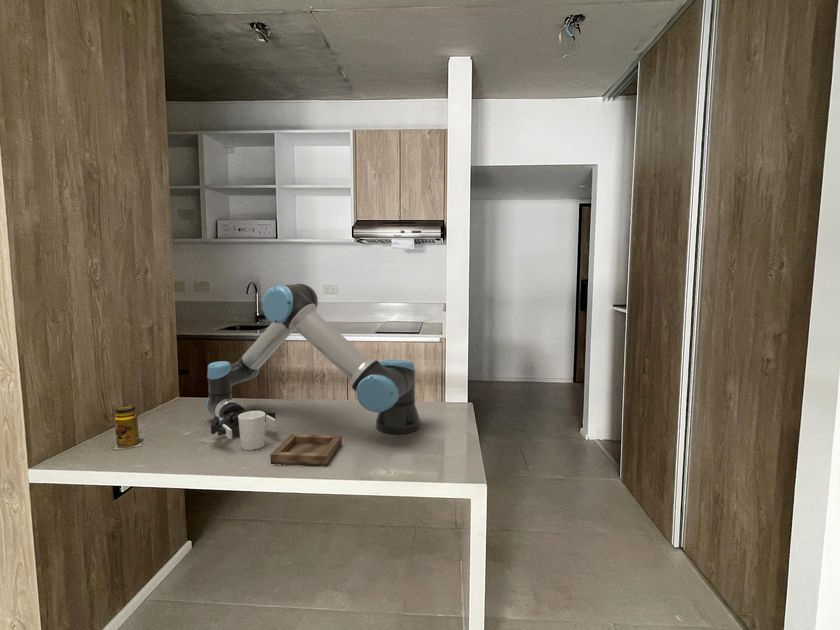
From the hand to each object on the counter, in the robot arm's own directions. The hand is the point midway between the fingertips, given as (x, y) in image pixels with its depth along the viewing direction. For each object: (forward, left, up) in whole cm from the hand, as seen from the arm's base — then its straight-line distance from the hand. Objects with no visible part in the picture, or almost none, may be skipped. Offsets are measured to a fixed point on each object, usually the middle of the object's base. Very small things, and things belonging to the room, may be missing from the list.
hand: (253, 429), depth 149 cm
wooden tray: (-18, +4, -6) cm, 19 cm away
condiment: (+41, 0, -6) cm, 41 cm away
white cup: (+1, -1, -6) cm, 6 cm away
